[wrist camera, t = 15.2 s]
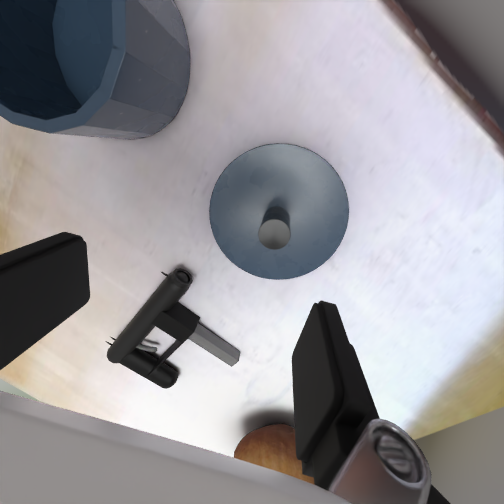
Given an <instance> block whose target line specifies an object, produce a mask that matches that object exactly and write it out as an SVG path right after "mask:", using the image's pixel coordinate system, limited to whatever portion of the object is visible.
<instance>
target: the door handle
mask: <svg viewBox="0 0 504 504" xmlns="http://www.w3.org/2000/svg"><path fill="white" fill-rule="evenodd" d="M161 273H163V272H161ZM163 274H164V273H163ZM164 275H165V276H167V277H166V279H165V280H164V281H163V282H162V283H161V285H160V286H159V287H158V288H157V290H156V291H155V292H154V293H153V295H152V296H151V297H150V298H149V299H148V301H147V302H146V303H145V304H144V306H143V307H142V308H141V309H140V311H139V312H138V313H137V314H136V316H135V317H134V318H133V319H132V320H131V322H130V323H129V324H128V325H127V327H126V328H125V329H124V330H123V332H122V333H121V334H120V335H119V336H118V338H117V339H114V338H112V337H111V338H112V339H113V340H115V341H114V343H113V344H111V343H109V342H107V343H108V344H110V345H111V346H110V348H109V349H108V351H107V358H108V360H109V361H110V362H112V363H120V364H122V365H124V366H126V367H127V368H129V369H131V370H133V371H134V372H136V373H138V374H140V375H141V376H143V377H145V378H147V379H148V380H150V381H152V382H154V383H155V384H157V385H159V386H161V387H162V388H170V387H171V386H173V385H174V384H175V383H176V381H177V379H178V373H177V371H176V370H174V369H172V368H171V367H169V366H167V365H166V364H164V363H163V362H164V361H165V360H166V359H167V358H168V357H169V356H170V355H171V354H172V353H173V352H174V351H175V350H176V349H177V348H178V347H179V346H180V345H181V344H183V343H184V342H185V341H186V340H187V339H190V340H191V341H193V342H194V343H196V344H197V345H199V346H200V347H202V348H204V349H205V350H207V351H208V352H210V353H211V354H213V355H214V356H216V357H218V358H219V359H221V360H222V361H224V362H225V363H227V364H228V365H230V366H231V367H232V366H233V365H234V364H236V363H237V362H238V361H239V356H240V351H239V350H237V349H236V348H234V347H233V346H231V345H230V344H228V343H227V342H225V341H224V340H222V339H221V338H219V337H218V336H216V335H215V334H213V333H212V332H210V331H209V330H207V329H206V328H204V327H203V326H201V325H200V324H198V322H199V320H200V317H199V316H197V315H196V314H194V313H193V312H191V311H190V310H188V309H187V308H185V307H184V306H182V305H181V304H179V303H178V302H177V301H178V300H179V299H180V298H181V297H182V296H183V295H184V294H185V292H186V291H187V290H188V288H189V285H190V284H191V283H192V277H191V275H190V274H189V273H188V272H187V271H185V270H183V269H176V270H175V271H174V272H173V273H171V274H169V275H167V274H164ZM155 326H156V327H158V328H159V329H161V330H163V331H164V332H166V333H167V334H169V335H170V336H172V337H174V338H175V339H177V341H176V342H175V343H174V344H173V345H172V346H171V347H170V348H169V349H168V350H167V351H166V352H165V353H164V354H163V355H162V356H161V357H160V358H159V359H158V360H157V359H156V358H154V357H152V356H151V355H149V354H147V353H146V352H144V351H142V350H145V351H150V352H156V351H157V347H150V346H145V345H142V344H140V343H141V342H142V340H143V339H144V338H145V337H146V336H147V335H148V334H149V333H150V331H151V330H152V329H153V328H154V327H155Z"/></svg>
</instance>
